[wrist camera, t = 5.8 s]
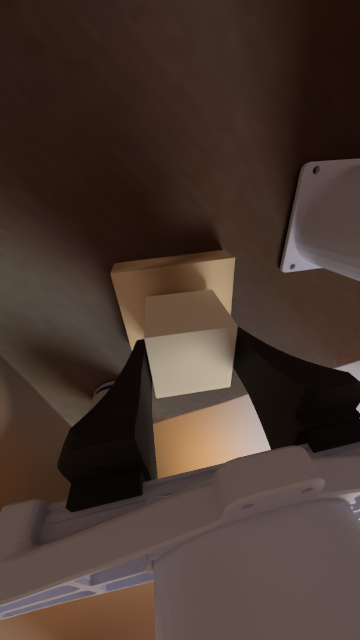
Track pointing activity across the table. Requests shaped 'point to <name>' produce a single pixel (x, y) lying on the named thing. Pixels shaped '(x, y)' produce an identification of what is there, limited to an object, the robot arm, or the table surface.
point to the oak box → (169, 283)
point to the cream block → (189, 342)
